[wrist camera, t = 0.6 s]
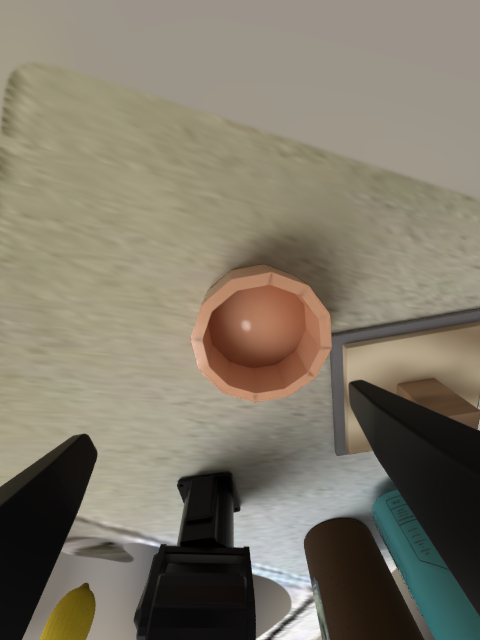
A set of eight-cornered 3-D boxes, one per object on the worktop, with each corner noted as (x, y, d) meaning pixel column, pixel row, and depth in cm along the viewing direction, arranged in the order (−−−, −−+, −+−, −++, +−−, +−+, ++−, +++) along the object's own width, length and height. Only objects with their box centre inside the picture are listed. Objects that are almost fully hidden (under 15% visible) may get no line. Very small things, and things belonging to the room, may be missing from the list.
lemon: (90, 568, 33) (49, 665, 26) (113, 587, 35) (80, 683, 28) (58, 578, 34) (9, 676, 26) (82, 596, 36) (42, 693, 28)
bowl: (315, 360, 23) (333, 389, 18) (214, 377, 23) (210, 409, 19) (307, 255, 19) (327, 261, 15) (188, 277, 20) (176, 289, 15)
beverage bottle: (355, 508, 30) (554, 949, 12) (374, 471, 28) (655, 943, 9) (402, 512, 31) (663, 939, 12) (423, 476, 29) (783, 931, 10)
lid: (464, 429, 26) (519, 476, 21) (345, 448, 26) (372, 498, 21) (485, 320, 21) (562, 346, 16) (342, 344, 22) (375, 377, 17)
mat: (467, 431, 26) (471, 435, 26) (335, 452, 27) (337, 455, 26) (493, 306, 21) (498, 307, 21) (329, 334, 22) (331, 336, 21)
